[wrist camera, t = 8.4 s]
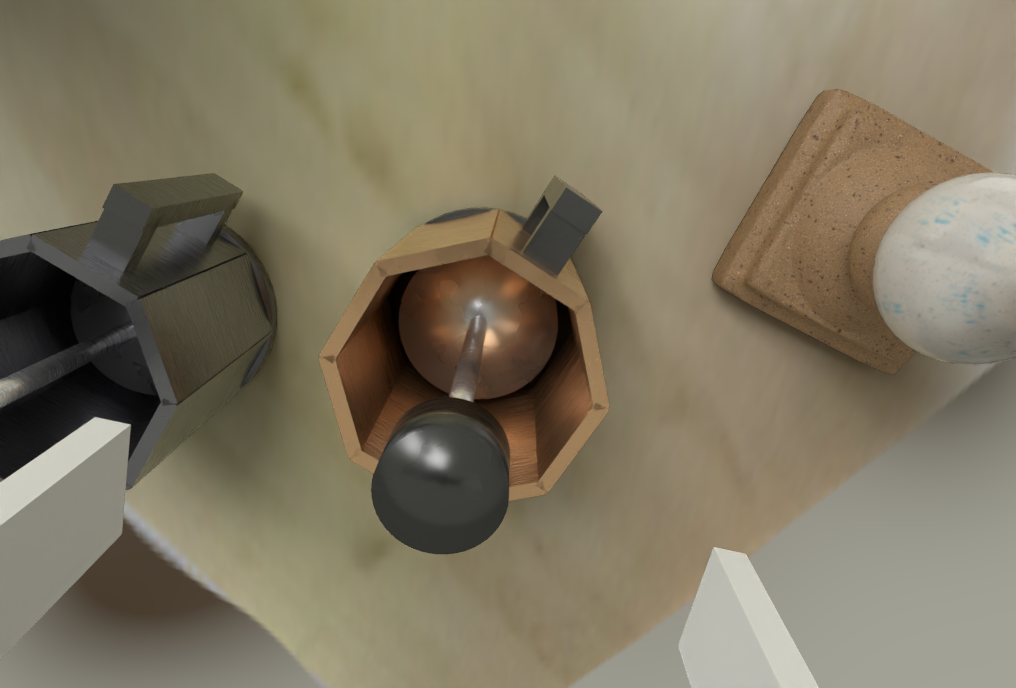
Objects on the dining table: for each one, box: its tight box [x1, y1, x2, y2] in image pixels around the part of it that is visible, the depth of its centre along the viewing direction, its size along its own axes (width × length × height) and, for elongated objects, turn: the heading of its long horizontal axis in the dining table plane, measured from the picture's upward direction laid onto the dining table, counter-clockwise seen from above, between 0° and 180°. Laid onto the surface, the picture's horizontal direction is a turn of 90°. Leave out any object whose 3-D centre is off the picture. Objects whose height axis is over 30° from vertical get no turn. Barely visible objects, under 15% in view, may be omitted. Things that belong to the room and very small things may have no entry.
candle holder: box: [712, 89, 1016, 375], centre depth 26 cm, size 11×11×24 cm
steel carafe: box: [0, 173, 277, 490], centre depth 33 cm, size 11×14×12 cm
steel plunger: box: [0, 279, 158, 408], centre depth 28 cm, size 8×8×19 cm
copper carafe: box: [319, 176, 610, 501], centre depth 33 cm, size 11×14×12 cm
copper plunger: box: [371, 255, 558, 554], centre depth 28 cm, size 8×8×19 cm
